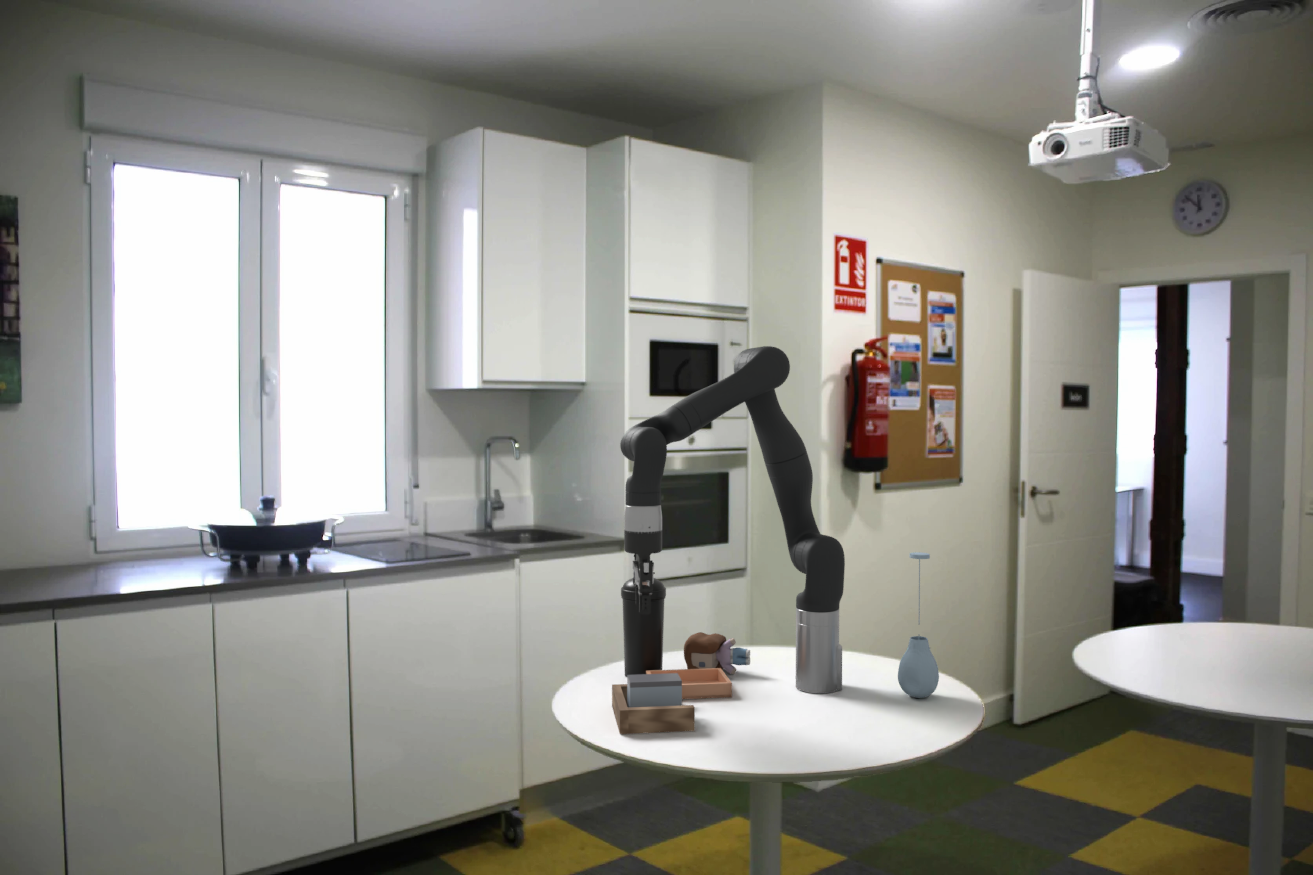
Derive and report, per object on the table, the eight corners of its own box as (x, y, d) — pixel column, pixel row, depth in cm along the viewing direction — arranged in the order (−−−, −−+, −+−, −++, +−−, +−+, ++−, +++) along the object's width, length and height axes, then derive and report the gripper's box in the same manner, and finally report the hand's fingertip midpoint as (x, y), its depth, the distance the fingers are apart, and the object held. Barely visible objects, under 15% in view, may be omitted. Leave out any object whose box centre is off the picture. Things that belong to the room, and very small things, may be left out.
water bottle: (667, 669, 224) (667, 570, 224) (663, 681, 214) (663, 577, 214) (624, 668, 225) (624, 569, 225) (618, 680, 215) (618, 577, 215)
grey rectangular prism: (677, 713, 192) (677, 673, 192) (681, 721, 187) (681, 680, 187) (627, 715, 191) (627, 674, 191) (630, 724, 186) (630, 682, 185)
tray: (720, 681, 215) (720, 667, 215) (731, 697, 203) (731, 683, 203) (646, 684, 212) (646, 670, 212) (652, 700, 200) (652, 685, 200)
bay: (680, 703, 198) (680, 682, 198) (694, 730, 181) (694, 707, 181) (612, 706, 197) (612, 684, 196) (619, 734, 179) (619, 710, 179)
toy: (746, 679, 216) (681, 675, 220) (753, 670, 224) (691, 666, 228) (745, 640, 216) (680, 637, 220) (753, 632, 224) (690, 629, 228)
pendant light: (915, 704, 198) (916, 557, 197) (889, 693, 205) (890, 552, 205) (947, 699, 201) (948, 555, 200) (920, 689, 209) (921, 550, 208)
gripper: (666, 532, 185) (665, 616, 186) (658, 523, 199) (658, 602, 200) (626, 532, 184) (626, 617, 185) (621, 524, 199) (621, 603, 199)
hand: (643, 609), depth 192 cm, fingers open, 8 cm apart
